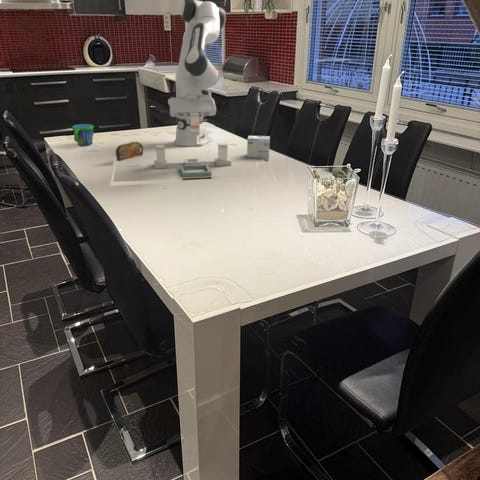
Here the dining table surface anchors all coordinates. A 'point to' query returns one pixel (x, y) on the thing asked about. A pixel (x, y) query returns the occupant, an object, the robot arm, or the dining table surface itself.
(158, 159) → the block
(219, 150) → the block
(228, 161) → the board
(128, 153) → the tin
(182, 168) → the tray
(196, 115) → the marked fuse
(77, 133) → the snack cup
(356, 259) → the dining table surface
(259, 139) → the light bulb box
